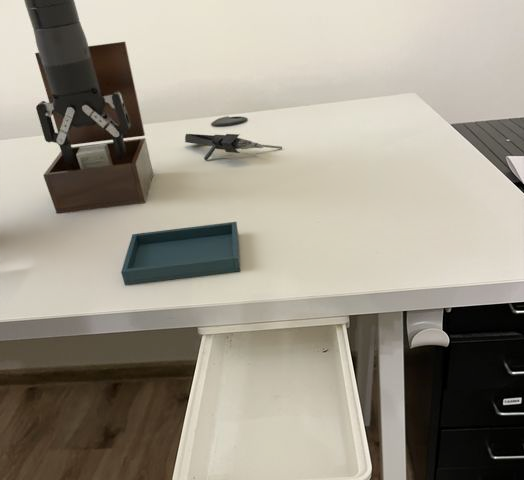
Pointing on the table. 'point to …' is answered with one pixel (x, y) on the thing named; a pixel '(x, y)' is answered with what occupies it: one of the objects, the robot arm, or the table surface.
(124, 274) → the tray
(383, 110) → the table surface
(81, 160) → the small box
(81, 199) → the chest
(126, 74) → the lid
